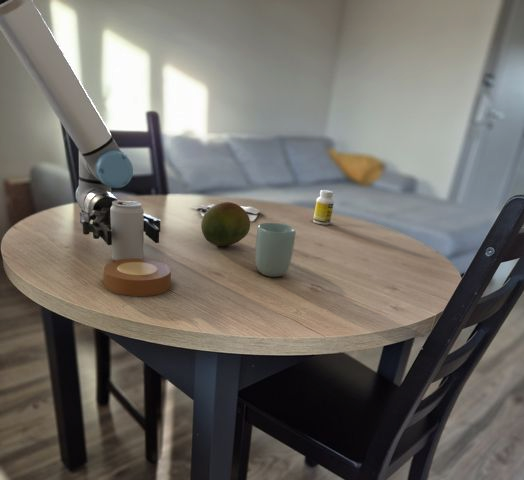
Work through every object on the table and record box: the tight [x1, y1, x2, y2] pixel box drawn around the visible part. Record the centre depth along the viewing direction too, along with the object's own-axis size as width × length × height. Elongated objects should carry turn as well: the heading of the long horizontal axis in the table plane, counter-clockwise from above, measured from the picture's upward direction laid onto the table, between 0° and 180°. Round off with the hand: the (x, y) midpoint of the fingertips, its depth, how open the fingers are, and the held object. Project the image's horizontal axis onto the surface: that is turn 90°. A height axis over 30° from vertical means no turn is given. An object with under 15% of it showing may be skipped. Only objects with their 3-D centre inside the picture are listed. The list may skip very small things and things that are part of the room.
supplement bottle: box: [312, 189, 335, 226], centre depth 150 cm, size 5×5×10 cm
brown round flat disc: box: [102, 258, 172, 297], centre depth 89 cm, size 12×12×3 cm
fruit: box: [200, 201, 251, 247], centre depth 116 cm, size 12×13×10 cm
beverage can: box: [110, 199, 145, 261], centre depth 98 cm, size 6×6×12 cm
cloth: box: [193, 203, 261, 222], centre depth 149 cm, size 20×22×2 cm
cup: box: [254, 222, 296, 278], centre depth 101 cm, size 8×8×10 cm
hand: (134, 237), depth 94 cm, fingers open, 9 cm apart
